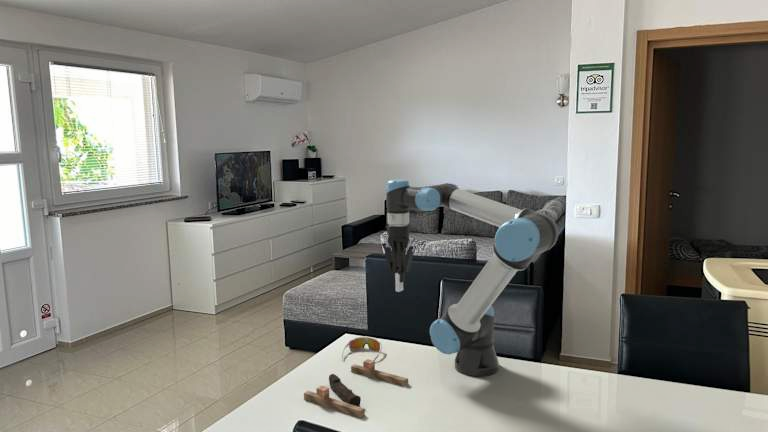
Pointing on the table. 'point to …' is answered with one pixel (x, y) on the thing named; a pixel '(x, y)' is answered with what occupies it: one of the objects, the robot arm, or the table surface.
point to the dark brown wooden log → (343, 391)
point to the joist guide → (325, 400)
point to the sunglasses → (362, 341)
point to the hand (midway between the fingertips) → (399, 290)
